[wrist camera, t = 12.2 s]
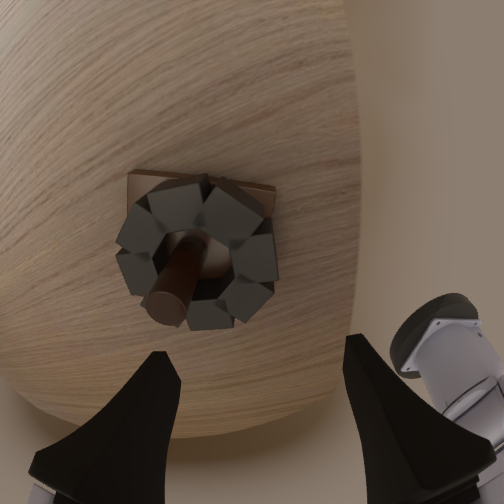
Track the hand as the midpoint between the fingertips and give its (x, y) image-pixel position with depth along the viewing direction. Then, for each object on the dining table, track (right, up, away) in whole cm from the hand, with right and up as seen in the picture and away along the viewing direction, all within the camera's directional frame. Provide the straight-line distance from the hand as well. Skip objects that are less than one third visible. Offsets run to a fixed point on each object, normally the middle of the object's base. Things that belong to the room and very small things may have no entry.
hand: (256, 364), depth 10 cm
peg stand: (-4, +5, +8) cm, 10 cm away
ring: (-3, +5, +7) cm, 9 cm away
